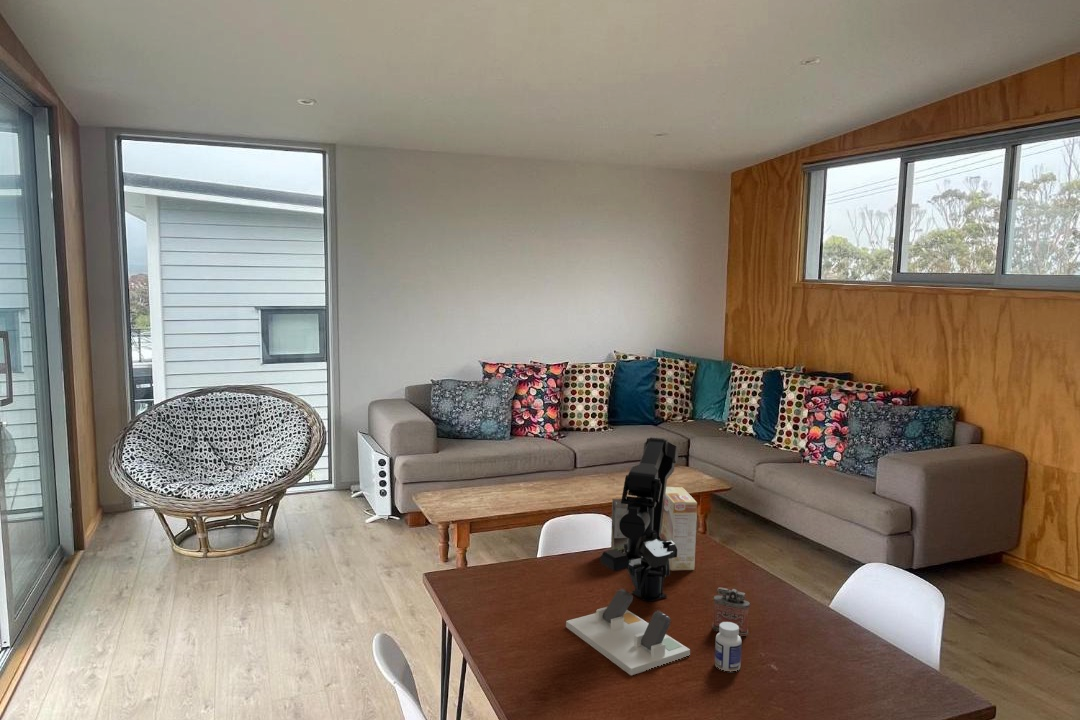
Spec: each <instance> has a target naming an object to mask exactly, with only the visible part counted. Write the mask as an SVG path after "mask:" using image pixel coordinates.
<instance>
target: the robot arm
mask: <svg viewBox="0 0 1080 720" xmlns="http://www.w3.org/2000/svg"><path fill="white" fill-rule="evenodd" d="M678 460H679V450H678V447H677V446H676V445H675V444H673V443H671V442H669V441H668V439H665V438H663V437H662V438H661V437H650V436H649V437H648V438H647V439H646V441H645V442H644V443H643V451H642V456H641V459H640V461H639V463H638V464H637V465H635V466H632V467H631V468H630V470H629V472H628V473H627V474H626V475H625V477H624V483H623V490H622V495H621V499H622V500H621V504H628V509H627V511H626V513H625V514H624V516H623V517H622V518H621V520H620V523H619V527H620V531H621V533H622V534H623V535H624V536H625V537H627V538H628V543H627V544H624V548H625V549H626V550H627V552H625V553H622V552H620V551H618V550H616V549H613V550H611V549H610V550H603V551H602V553H601V554H600V564H601V565H603V566H605V567H606V568H609V569H610V570H612V571H613V572H615V571H616V572H618V571H624V570H627V572H628V574H629V577H630V579H631V581H632V584H633V586H634V590H631V594H632V595H634V596H636V597H638V598H640V599H641V600H643V601H645V602H646V603H651V602H654V601H658V600H661V599H665V598H668V595H667V594H666V593H664V579H665V578H666V577H668V576H670V574H671V570H670V564H669V559H670V558H675V557H677V547H676V546H675V543H674V542H673V541H666V540H664V539H662V538H661V529H662V520H663V511H664V502H665V493H666V487H667V485H668V484H667V483H668V479H669V478H670V477H671V475H672V474H673V473H674V472H675V467H676V464H678Z"/></svg>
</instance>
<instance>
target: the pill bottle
mask: <svg viewBox="0 0 1080 720" xmlns="http://www.w3.org/2000/svg"><path fill="white" fill-rule="evenodd" d="M738 634H739V626H738V625H737V624H735V623H732V622H722V623H720V625H719V632H718V633H717V634H716V636H715V640H714V641H715V643H714V644H715V645H714V665H715V666H714V667H716V668H717V667H718V668H719V669H718V668H717V669H718V670H720V669H721V670H720V671H722V670H724V671H723V672H725V671H730V672H729V673H732V672H731V671H736V672H738V671H740V669H741V664H742V663H741V662H742V637H741V636H739V635H738ZM737 670H738V671H737Z"/></svg>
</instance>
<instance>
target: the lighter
mask: <svg viewBox="0 0 1080 720" xmlns="http://www.w3.org/2000/svg"><path fill="white" fill-rule="evenodd" d="M716 593H717V595H715V596H713V602H714V604H713V606H714V609H713V621H712V622H713V623H712V628H713V629H714V630H713V629H712V628H711V629H712V630H713V631H715V630H717V631H716V632H718V631H719V625H720V623H722V622H732V623H735V624H737V625H738V626H739V634H738V635H747V634H748V635H749V630H748V629H749V628H748V625H749V612H750V611H749V608H750V606H751V605H750V602H749V601H747V600H745V597H746V593H745V592H742V591H738V590H737V589H736V588H732V589H729V588H725V587H718V588H717V592H716Z"/></svg>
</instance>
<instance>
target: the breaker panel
mask: <svg viewBox="0 0 1080 720" xmlns="http://www.w3.org/2000/svg"><path fill="white" fill-rule="evenodd" d="M607 607H608V606H605V607H601V608H597V609H596V612H594V613H590V614H588V615H584V616H579V617H576V618H572V619H569V620H565V621H566V622H565V628H567V629H568V630H569V631H570V632H571V633H573V634H575V635H576V636H577V637H579V638H580V639H581V640H583V641H584V642H585V643H586V644H588V645H590V646H591V647H592V648H593V649H594V650H596V651H598V652H599V653H600V654H601V655H603V656H604V657H605V658H607V659H609V661H611V663H613V664H614V665H616V666H618V667H619V668H620V669H621V670H622V671H624V672H626V673H627V674H628V675H629V676H633V675H634V676H635V675H636V674H637V675H638V674H640V673H643V672H646V670H647V671H649V669H650V670H652V669H651V668H653V669H655V668H654V667H656V668H658V667H657V666H659V667H662V666H664V665H663V664H665V665H667V664H666V663H668V664H670V663H669V662H671V663H673V662H672V661H674V662H676V661H675V660H677V661H679V660H678V659H680V660H682V659H681V658H683V657H686V656H689V655H690V656H691V649H690V648H689V647H687V646H686V645H684V644H682V643H680V641H678V640H676V639H674V638H673V637H671V636H670V635H668V634H667V631H668V629H669V627H670V625H671V617H670V616H668V615H667V614H666V613H663V612H662V611H661V610H656V611H654V612H653V613H652V616H651V618H650V619H649V620H650V621H649V622H647V621H645V620H644V619H643V618H642V617H639V616H638V615H636V614H635V613H633V612H631V611H630V610H629V609H627V610H626V612H625V613H624V615H623V616H621V617H617V618H614V619H611V624H610V623H609V622H607V621H606V620H604V619H603V613H604V612H605V610H606V609H607ZM690 656H689V657H690ZM686 658H687V657H686ZM683 659H684V658H683ZM661 665H662V666H661Z"/></svg>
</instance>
